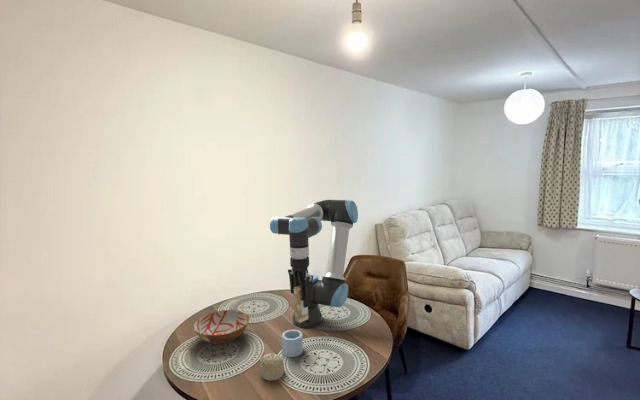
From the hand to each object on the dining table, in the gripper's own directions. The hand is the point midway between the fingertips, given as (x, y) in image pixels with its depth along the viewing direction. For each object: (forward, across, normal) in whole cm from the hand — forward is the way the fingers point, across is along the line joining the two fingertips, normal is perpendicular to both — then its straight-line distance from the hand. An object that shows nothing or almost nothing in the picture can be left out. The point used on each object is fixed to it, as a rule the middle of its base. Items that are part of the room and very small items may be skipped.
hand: (301, 312), depth 133 cm
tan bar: (+3, 0, 0) cm, 3 cm away
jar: (+20, -7, 0) cm, 21 cm away
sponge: (+20, -1, -15) cm, 25 cm away
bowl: (+20, -39, -17) cm, 47 cm away
